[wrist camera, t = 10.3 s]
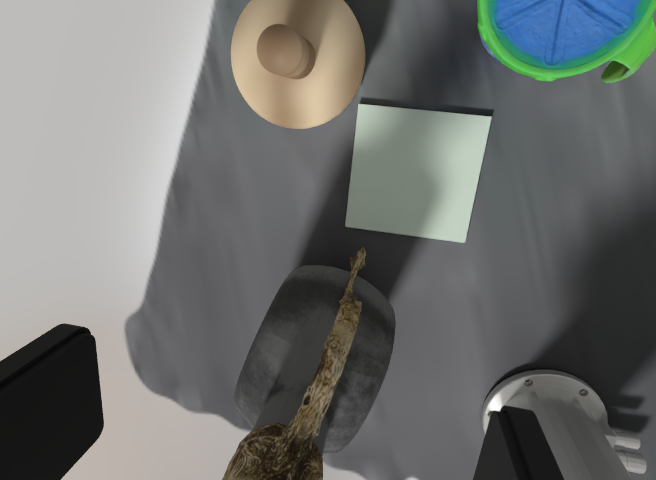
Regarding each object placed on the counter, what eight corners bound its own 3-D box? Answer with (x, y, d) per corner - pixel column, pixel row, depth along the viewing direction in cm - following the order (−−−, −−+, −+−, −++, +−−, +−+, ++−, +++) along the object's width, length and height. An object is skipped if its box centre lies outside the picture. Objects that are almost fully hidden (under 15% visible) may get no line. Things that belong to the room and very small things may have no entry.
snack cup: (410, 8, 35) (415, -28, 26) (506, -110, 32) (552, -203, 22) (537, 130, 37) (586, 139, 27) (643, 29, 33) (742, -2, 24)
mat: (490, 116, 37) (491, 116, 36) (464, 241, 41) (464, 243, 40) (359, 103, 38) (358, 103, 38) (345, 225, 42) (345, 226, 42)
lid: (373, -13, 31) (367, -40, 26) (357, 134, 35) (349, 139, 29) (237, -20, 33) (202, -48, 27) (235, 121, 36) (204, 124, 30)
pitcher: (265, 341, 48) (81, 667, 20) (324, 196, 42) (171, 381, 14) (350, 379, 48) (281, 763, 20) (422, 239, 41) (473, 518, 13)
